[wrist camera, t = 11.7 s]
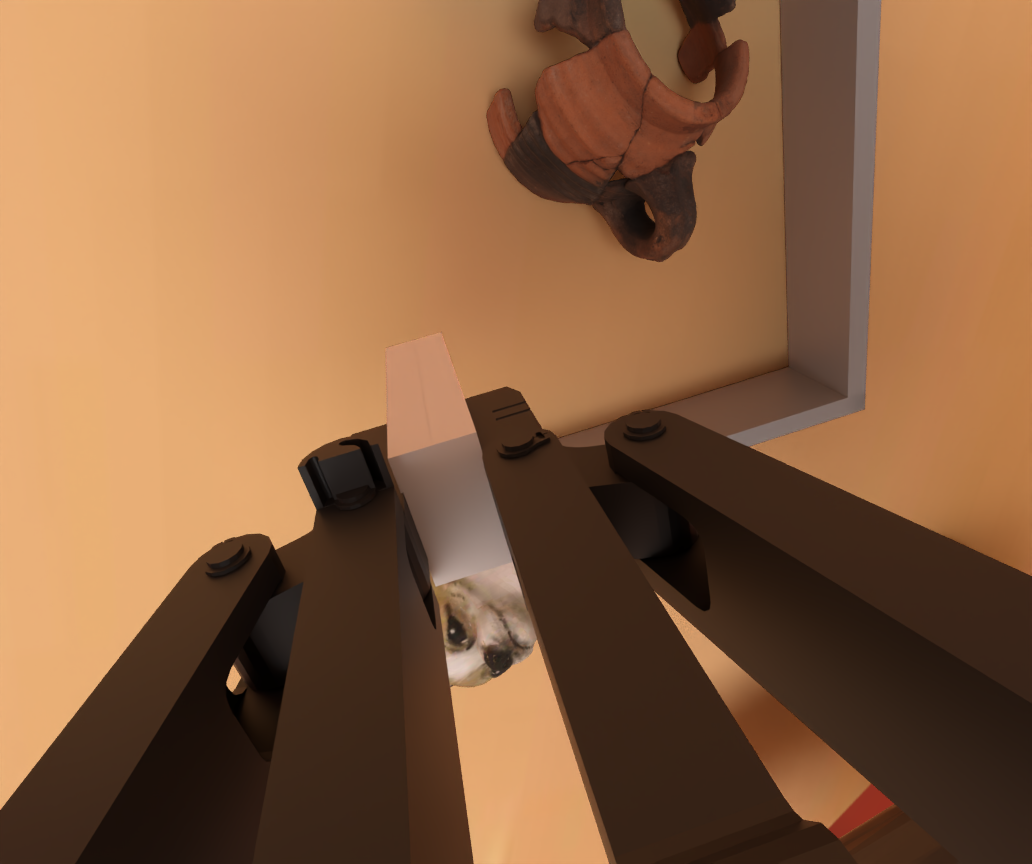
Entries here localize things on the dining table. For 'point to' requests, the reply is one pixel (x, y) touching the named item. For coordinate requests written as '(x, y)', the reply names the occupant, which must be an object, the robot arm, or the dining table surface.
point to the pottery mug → (621, 122)
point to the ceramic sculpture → (484, 625)
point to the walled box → (813, 231)
